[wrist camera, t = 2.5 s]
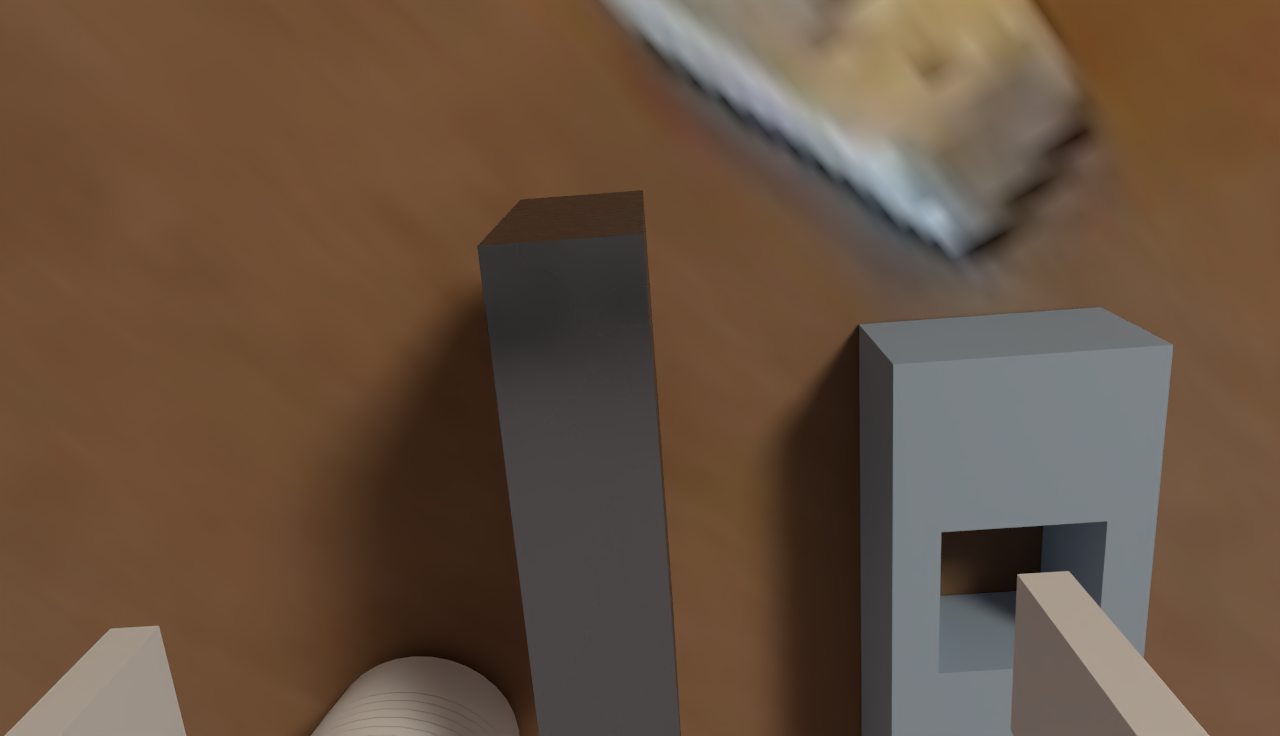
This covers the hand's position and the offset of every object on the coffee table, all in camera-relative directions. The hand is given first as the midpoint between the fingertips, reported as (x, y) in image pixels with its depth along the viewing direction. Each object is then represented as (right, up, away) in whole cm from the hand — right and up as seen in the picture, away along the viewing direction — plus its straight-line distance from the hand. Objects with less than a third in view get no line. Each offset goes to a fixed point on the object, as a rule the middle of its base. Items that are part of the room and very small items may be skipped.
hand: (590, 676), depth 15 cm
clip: (0, +5, +14) cm, 15 cm away
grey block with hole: (+11, -4, +16) cm, 21 cm away
